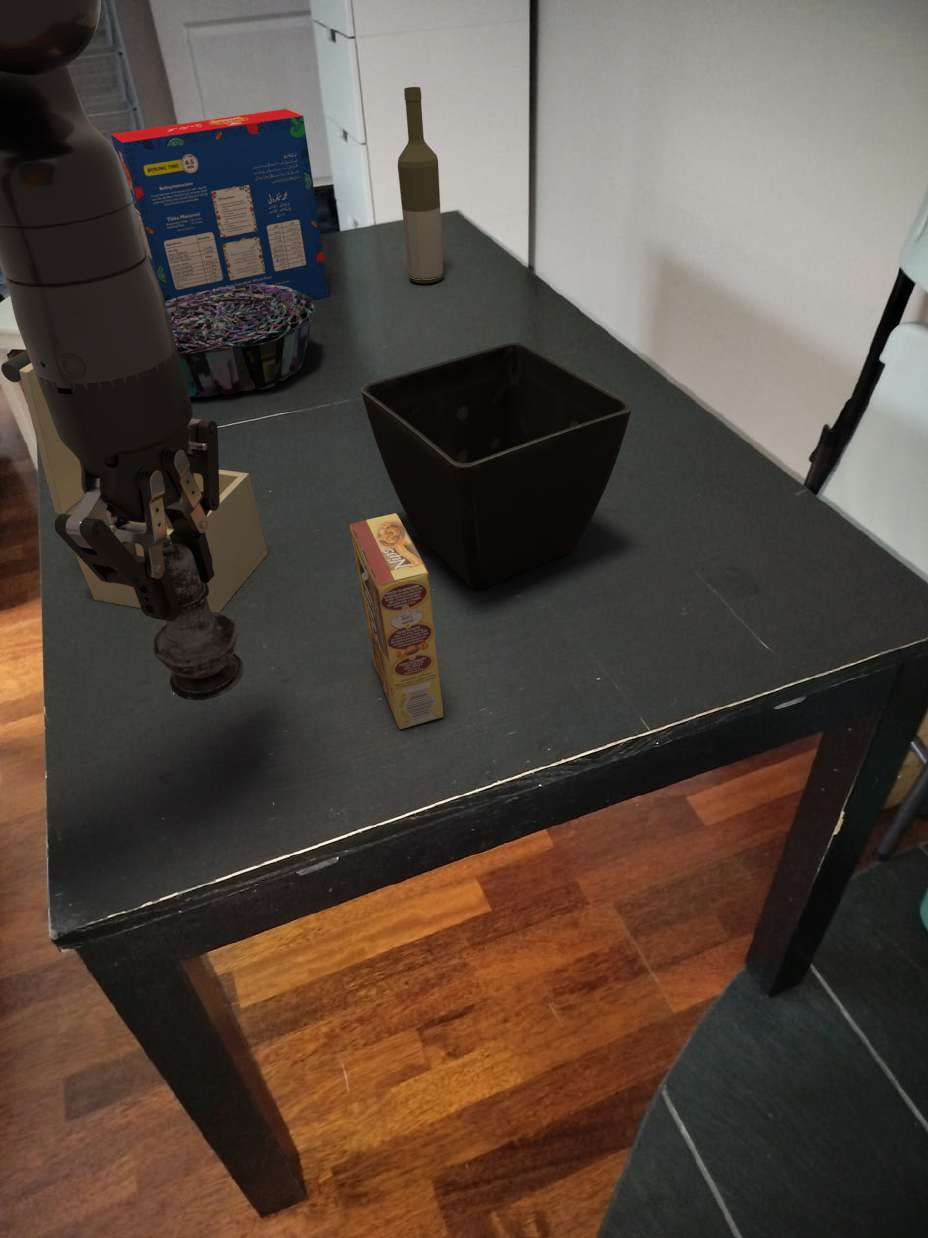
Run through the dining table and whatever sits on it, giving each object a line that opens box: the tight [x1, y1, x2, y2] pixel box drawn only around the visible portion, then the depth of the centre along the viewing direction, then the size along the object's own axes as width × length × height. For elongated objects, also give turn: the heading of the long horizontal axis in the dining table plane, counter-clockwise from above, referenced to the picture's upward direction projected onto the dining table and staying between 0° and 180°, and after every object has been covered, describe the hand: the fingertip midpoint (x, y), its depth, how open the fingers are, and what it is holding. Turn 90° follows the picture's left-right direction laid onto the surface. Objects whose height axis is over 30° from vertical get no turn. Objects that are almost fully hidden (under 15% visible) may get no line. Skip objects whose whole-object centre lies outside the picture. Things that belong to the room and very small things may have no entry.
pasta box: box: [110, 108, 330, 302], centre depth 141 cm, size 28×8×28 cm, turn 119°
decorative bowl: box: [165, 284, 316, 399], centre depth 126 cm, size 26×28×10 cm
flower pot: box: [360, 341, 633, 589], centre depth 85 cm, size 19×19×17 cm
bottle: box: [397, 86, 444, 285], centre depth 146 cm, size 7×7×30 cm
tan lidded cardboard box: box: [66, 469, 269, 613], centre depth 86 cm, size 14×12×10 cm
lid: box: [0, 349, 85, 515], centre depth 80 cm, size 14×12×5 cm
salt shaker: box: [152, 538, 245, 701], centre depth 58 cm, size 6×6×12 cm
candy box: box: [349, 512, 444, 730], centre depth 69 cm, size 9×4×15 cm, turn 20°
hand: (182, 596), depth 58 cm, fingers closed on salt shaker, 3 cm apart
